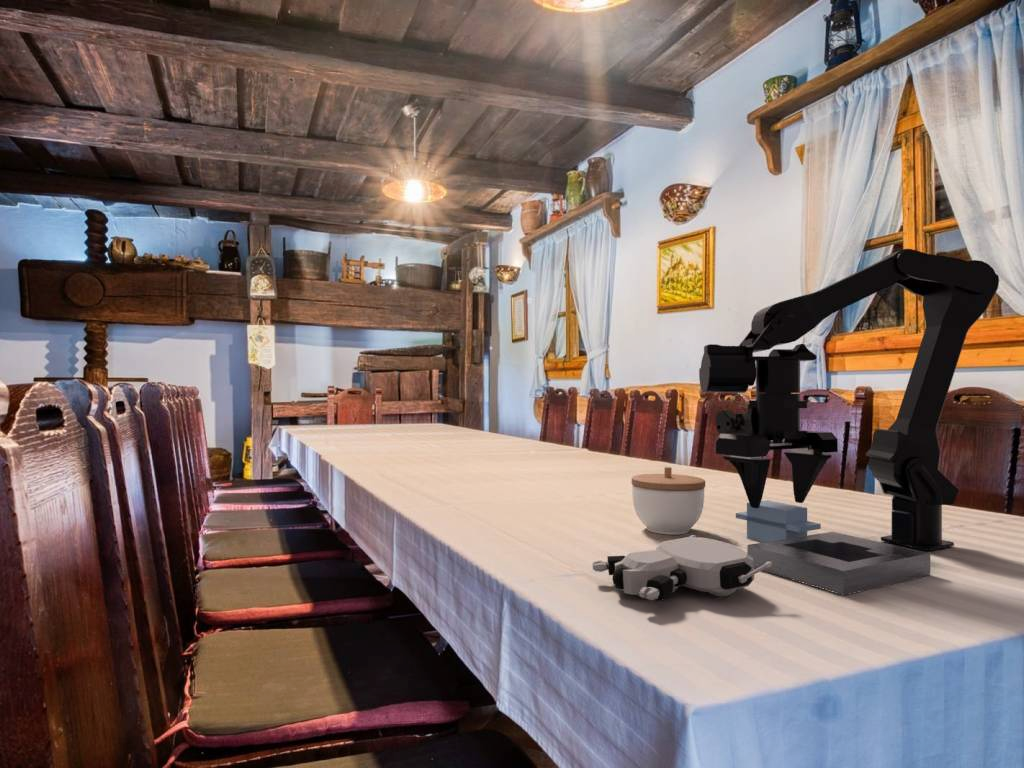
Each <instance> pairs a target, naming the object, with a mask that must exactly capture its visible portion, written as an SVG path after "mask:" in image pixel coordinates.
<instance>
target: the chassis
mask: <svg viewBox="0 0 1024 768" xmlns="http://www.w3.org/2000/svg"><path fill="white" fill-rule="evenodd" d="M746 546H747V549H746V550H747V551H746V553H748V554H749V555H750V556H751V557H752V558H753V563H754V569H755V568H756V569H757V568H759V567H761V566H763V565H764V564H765V563H766V562H772V565H771V566H770V567H768V568H765V569H763V570H761V572H765V573H768V572H769V574H772V575H775V574H776V575H775V576H778V575H780V576H779V577H781V576H784V577H783V578H785V577H787V578H786V579H788V578H790V579H789V580H791V579H794V580H797V581H800V582H799V583H801V582H804V583H807V584H810V585H814V586H818V587H821V588H824V589H827V590H830V591H834V592H837V593H839V594H843V595H844V594H848V595H850V594H849V593H852V594H855V593H854V592H856V593H859V592H858V591H861V592H863V591H862V590H865V591H868V590H867V589H869V590H873V589H877V588H881V586H882V587H885V585H886V586H889V584H890V585H893V584H894V585H895V584H897V583H902V582H901V581H903V582H906V581H905V580H907V581H911V580H914V578H915V579H920V578H924V577H928V576H931V552H928V551H925V550H924V551H923V550H920V549H916V548H914V549H913V548H911V547H906V546H902V545H901V546H900V545H897V544H893V543H888V542H883V541H877V540H873V539H867V538H863V537H859V536H855V535H850V534H849V535H848V534H845V533H841V532H835V531H827V532H821V533H816V534H815V533H813V534H807V536H801V537H795V538H788V539H782V540H776V541H769V542H758V543H752V544H751V543H749V544H747V545H746ZM910 579H911V580H910ZM794 580H793V581H794ZM797 581H796V582H797ZM804 583H803V584H804ZM807 584H806V585H807ZM810 585H809V586H810ZM814 586H813V587H814ZM876 587H877V588H876ZM872 588H873V589H872ZM830 591H829V592H830ZM839 594H838V595H839ZM843 595H842V596H843ZM844 596H845V595H844Z"/></svg>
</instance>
